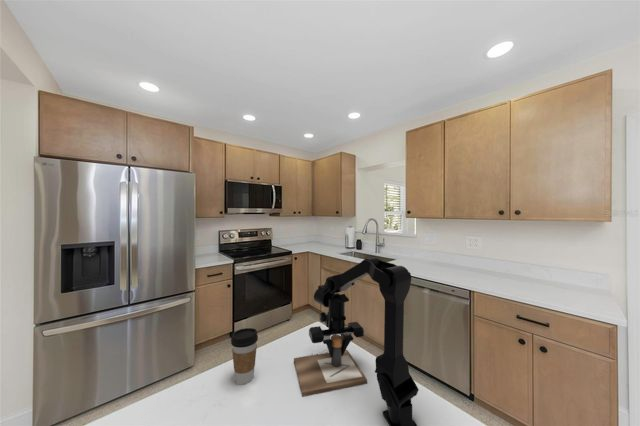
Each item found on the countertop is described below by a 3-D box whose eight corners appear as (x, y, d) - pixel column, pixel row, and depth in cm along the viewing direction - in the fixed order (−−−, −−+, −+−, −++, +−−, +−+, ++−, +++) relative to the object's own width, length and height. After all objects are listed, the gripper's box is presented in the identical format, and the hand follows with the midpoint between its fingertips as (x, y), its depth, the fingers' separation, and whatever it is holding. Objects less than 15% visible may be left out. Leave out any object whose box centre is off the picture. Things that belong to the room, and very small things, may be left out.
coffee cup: (249, 389, 71) (250, 340, 71) (225, 385, 73) (225, 337, 73) (262, 371, 79) (262, 327, 79) (239, 368, 81) (239, 325, 81)
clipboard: (367, 383, 74) (367, 378, 74) (302, 396, 68) (302, 391, 68) (347, 352, 90) (347, 349, 90) (293, 361, 85) (293, 357, 85)
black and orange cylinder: (343, 365, 80) (343, 339, 80) (332, 367, 79) (332, 341, 79) (339, 359, 83) (339, 334, 83) (329, 360, 82) (329, 335, 82)
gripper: (352, 300, 91) (352, 340, 91) (306, 305, 87) (305, 347, 86) (364, 312, 80) (364, 357, 80) (312, 318, 76) (312, 366, 76)
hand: (336, 356), depth 81 cm, fingers closed on black and orange cylinder, 4 cm apart
